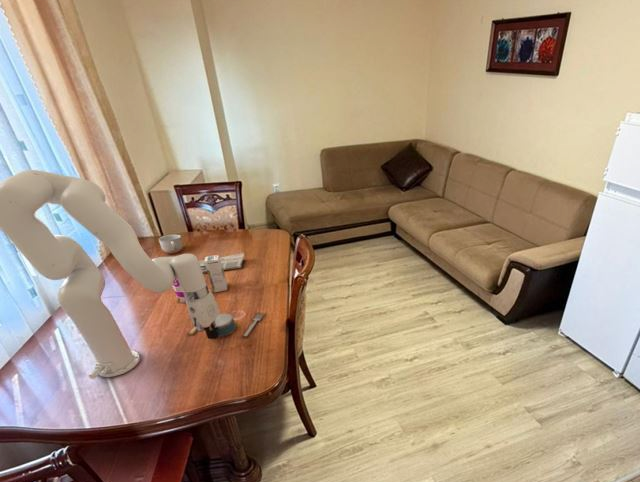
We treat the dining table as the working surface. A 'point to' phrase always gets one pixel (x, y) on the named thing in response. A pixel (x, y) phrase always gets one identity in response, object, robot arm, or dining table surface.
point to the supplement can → (178, 291)
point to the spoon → (193, 331)
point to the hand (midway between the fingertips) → (213, 337)
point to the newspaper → (226, 262)
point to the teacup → (171, 243)
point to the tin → (224, 325)
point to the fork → (253, 324)
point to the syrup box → (216, 273)
